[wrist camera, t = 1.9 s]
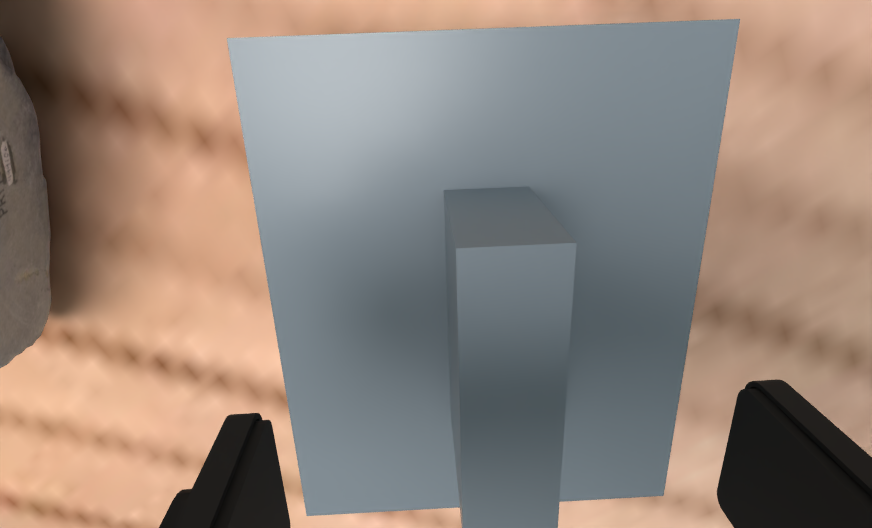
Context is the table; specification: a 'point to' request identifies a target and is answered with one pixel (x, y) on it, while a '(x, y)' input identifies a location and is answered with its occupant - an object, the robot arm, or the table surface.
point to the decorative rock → (21, 219)
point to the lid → (483, 255)
